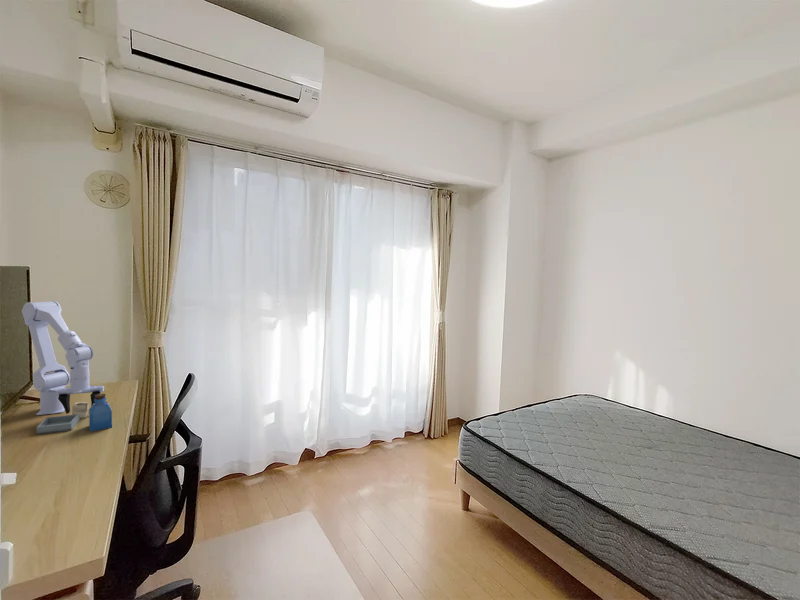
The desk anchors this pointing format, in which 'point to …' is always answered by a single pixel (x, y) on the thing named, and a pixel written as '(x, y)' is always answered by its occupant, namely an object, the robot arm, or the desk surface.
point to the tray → (58, 424)
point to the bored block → (80, 409)
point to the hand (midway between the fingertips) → (80, 411)
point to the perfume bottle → (100, 414)
